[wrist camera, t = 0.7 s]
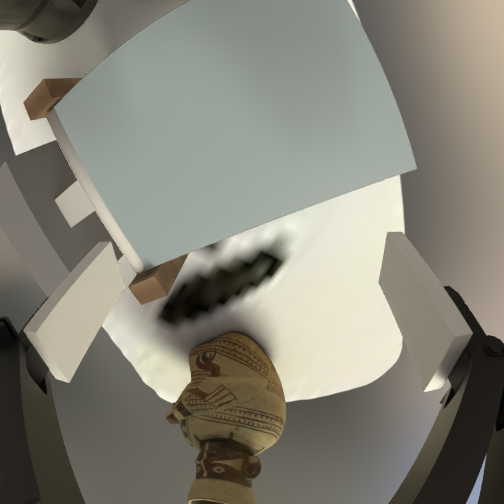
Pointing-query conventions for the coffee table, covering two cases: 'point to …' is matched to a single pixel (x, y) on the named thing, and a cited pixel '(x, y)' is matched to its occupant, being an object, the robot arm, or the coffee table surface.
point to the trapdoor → (205, 135)
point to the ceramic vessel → (229, 417)
